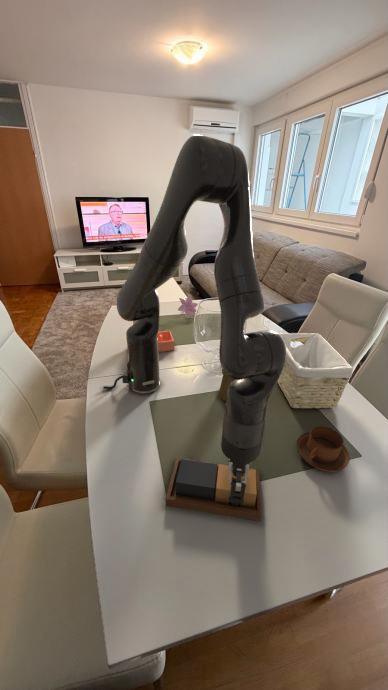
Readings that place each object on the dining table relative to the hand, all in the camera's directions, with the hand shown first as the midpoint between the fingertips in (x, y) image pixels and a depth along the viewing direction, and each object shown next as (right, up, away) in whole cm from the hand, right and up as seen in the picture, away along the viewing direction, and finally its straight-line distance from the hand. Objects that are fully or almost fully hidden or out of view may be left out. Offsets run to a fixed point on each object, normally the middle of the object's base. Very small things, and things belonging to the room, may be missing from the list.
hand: (235, 489), depth 63 cm
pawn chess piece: (+2, +15, +31) cm, 34 cm away
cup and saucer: (+23, +3, +10) cm, 25 cm away
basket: (+27, +16, +35) cm, 47 cm away
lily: (-12, +46, +88) cm, 100 cm away
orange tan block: (0, -1, 0) cm, 1 cm away
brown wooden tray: (-4, -1, +1) cm, 5 cm away
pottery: (-26, +30, +58) cm, 70 cm away
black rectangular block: (-8, 0, +1) cm, 8 cm away
